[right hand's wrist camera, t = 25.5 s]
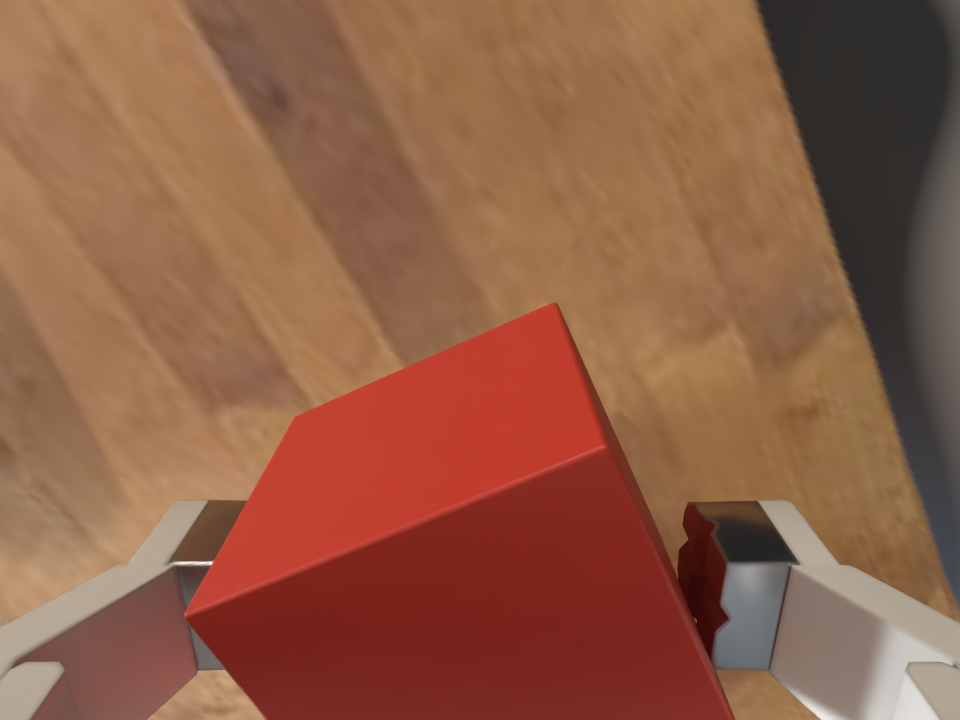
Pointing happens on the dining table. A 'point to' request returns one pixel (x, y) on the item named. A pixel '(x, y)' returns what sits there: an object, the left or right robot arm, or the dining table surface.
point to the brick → (457, 555)
